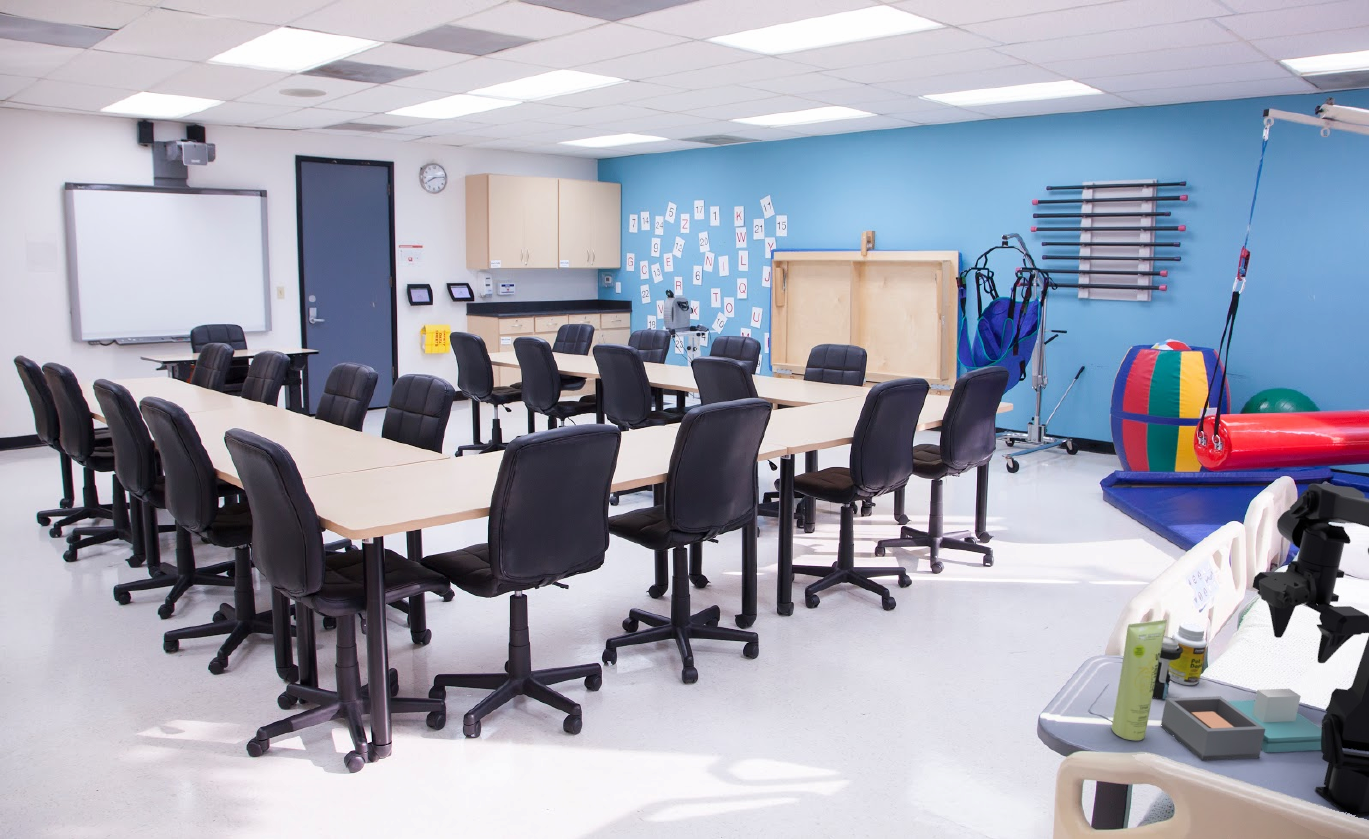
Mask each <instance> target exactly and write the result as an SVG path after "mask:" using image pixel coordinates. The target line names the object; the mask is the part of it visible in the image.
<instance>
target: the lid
mask: <svg viewBox="0 0 1369 839" xmlns="http://www.w3.org/2000/svg"><path fill="white" fill-rule="evenodd" d="M1227 701H1228V702H1229V703H1230V704H1232V705H1233V706H1234V707H1236V708H1237V709H1239V710H1240V711H1241V712H1243V713H1244V714H1246V715H1247V716H1248V717H1250V718H1251V719H1252V720H1254V721H1255V722H1257V723H1258V724H1259V725H1261V726H1262V727H1264V728H1265V733H1264V738H1263V743H1262V747H1261V751H1263V752H1264V753H1267V754H1268V753H1285V752H1305V751H1321V732H1322V727H1320V726H1318V725H1317V724H1315V723H1313V722H1312V721H1311V720H1310V719H1308V718H1307V717H1305V716H1303V715H1302V714H1300V713H1299V712H1298V711H1299V710H1298V709H1299V706H1300V701H1301V695H1300V694H1298V693H1297V692H1295V691H1293V690H1292V689H1290V688H1274V689H1273V688H1271V689H1270V688H1269V689H1257V690H1256V694H1255V699H1250V700H1248V699H1247V700H1227Z"/></svg>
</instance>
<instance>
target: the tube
mask: <svg viewBox="0 0 1369 839" xmlns="http://www.w3.org/2000/svg"><path fill="white" fill-rule="evenodd" d="M1166 627H1167V618H1165V619H1160V620H1152V621H1151V620H1150V621H1142V622H1135V623H1128V624H1127V629H1126V635H1125V644H1124V651H1123V658H1122V664H1121V669H1120V675H1119V684H1118V689H1117V694H1116V700H1115V706H1114V714H1113V717H1112V718H1113V719H1112V724H1111V730H1112V732H1113V733H1114V734H1115V735H1117V736H1118V737H1120V738H1122V739H1124V740H1127V741H1141V740H1144V738H1145V737H1146V732H1147V728H1148V727H1147V726H1148V722H1149V717H1150V711H1151V706H1152V700H1153V698H1152V696H1153V690H1154V685H1155V680H1156V675H1157V669H1158V664H1159V659H1160V653H1161V648H1162V643H1163V638H1164V636H1165V633H1166Z"/></svg>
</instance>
